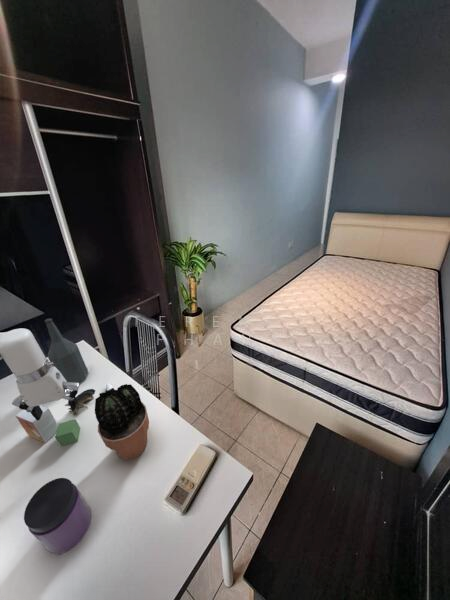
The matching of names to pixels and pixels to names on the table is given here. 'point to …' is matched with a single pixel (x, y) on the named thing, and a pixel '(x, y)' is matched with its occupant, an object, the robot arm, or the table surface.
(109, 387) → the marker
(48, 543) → the jar
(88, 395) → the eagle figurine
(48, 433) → the small box
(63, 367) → the bottle
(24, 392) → the robot arm
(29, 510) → the jar lid
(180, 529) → the table surface
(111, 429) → the potted plant
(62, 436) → the block
